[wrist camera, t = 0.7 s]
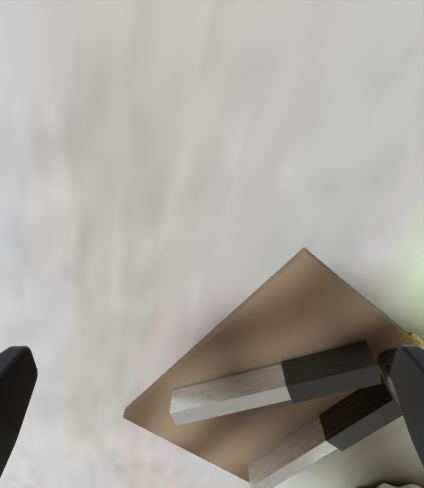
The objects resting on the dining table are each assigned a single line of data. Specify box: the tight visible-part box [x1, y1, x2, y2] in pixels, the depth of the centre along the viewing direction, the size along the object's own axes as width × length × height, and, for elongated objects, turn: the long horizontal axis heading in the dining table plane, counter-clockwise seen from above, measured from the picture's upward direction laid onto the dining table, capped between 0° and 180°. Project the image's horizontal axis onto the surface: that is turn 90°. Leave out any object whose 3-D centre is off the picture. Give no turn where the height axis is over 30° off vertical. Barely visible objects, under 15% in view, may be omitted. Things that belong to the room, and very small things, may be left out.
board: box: [123, 248, 410, 482], centre depth 28 cm, size 15×20×1 cm
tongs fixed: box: [248, 333, 424, 488], centre depth 27 cm, size 4×18×3 cm, turn 140°
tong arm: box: [170, 341, 382, 426], centre depth 26 cm, size 2×14×2 cm, turn 109°
